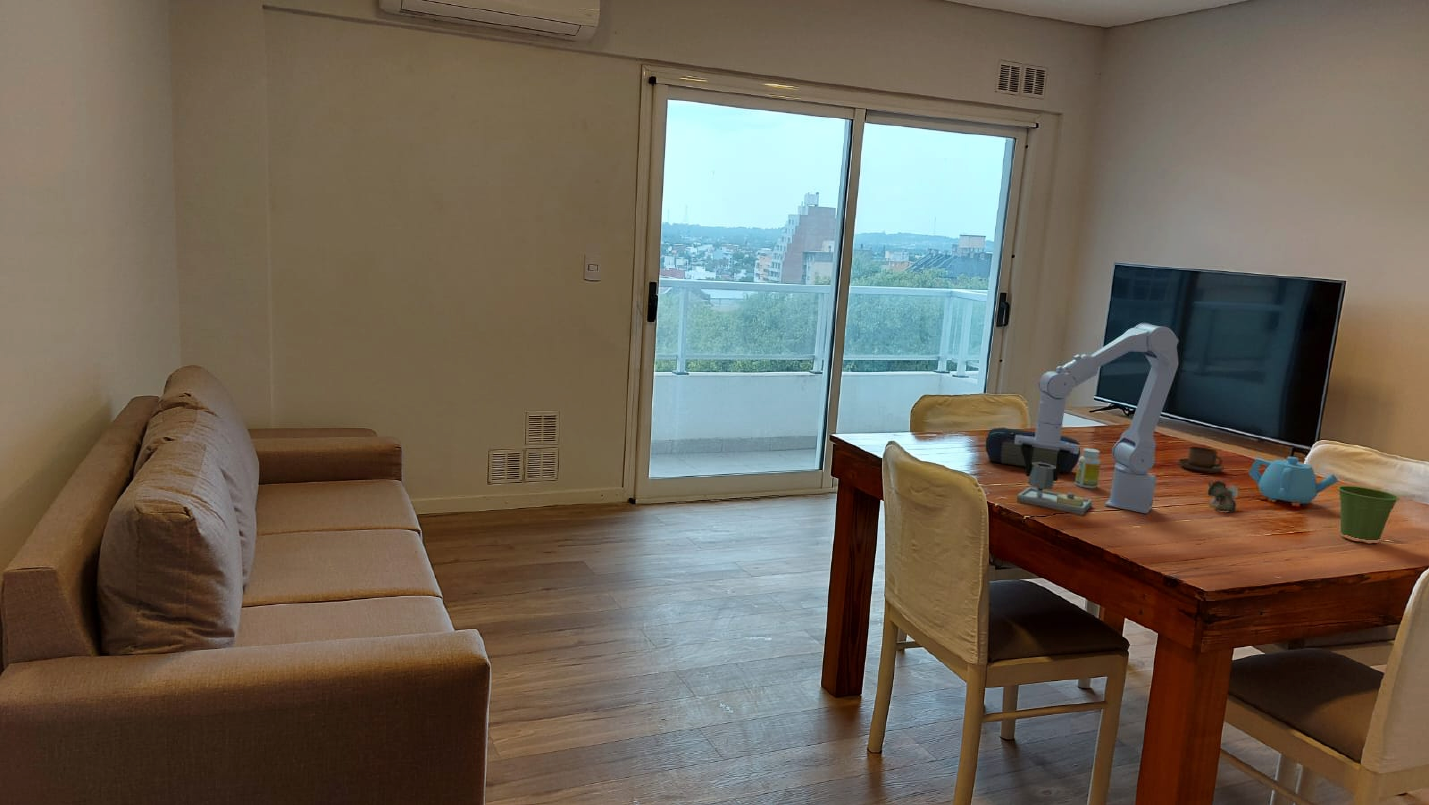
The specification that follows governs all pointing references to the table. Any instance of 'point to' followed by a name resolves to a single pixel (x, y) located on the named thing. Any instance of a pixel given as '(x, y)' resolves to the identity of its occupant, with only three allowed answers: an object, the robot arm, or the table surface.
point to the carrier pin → (1039, 492)
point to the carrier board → (1055, 501)
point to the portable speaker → (1009, 453)
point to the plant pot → (1364, 511)
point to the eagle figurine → (1223, 496)
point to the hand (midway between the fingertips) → (1041, 477)
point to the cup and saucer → (1202, 460)
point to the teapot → (1289, 480)
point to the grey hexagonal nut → (1042, 475)
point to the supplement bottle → (1088, 469)
